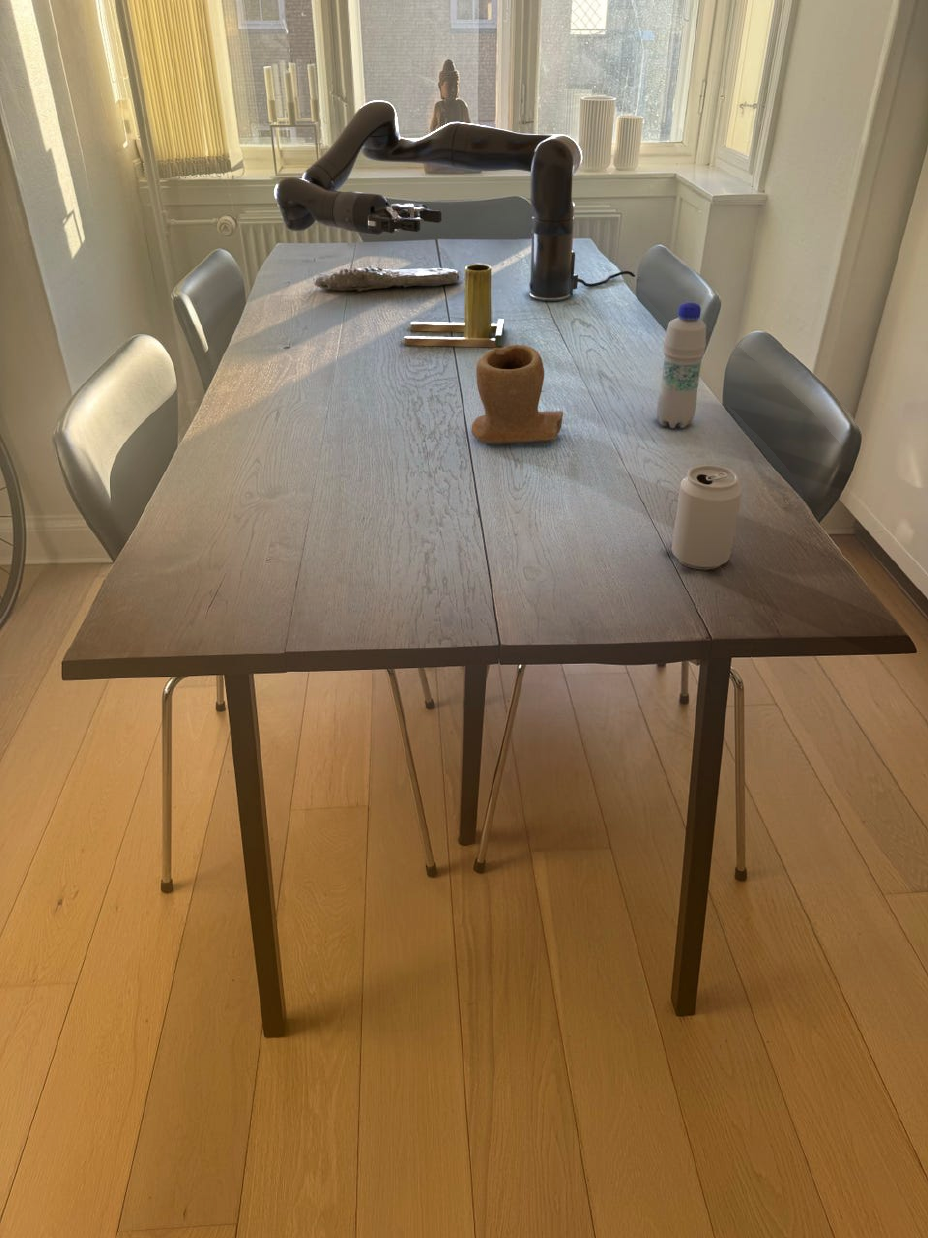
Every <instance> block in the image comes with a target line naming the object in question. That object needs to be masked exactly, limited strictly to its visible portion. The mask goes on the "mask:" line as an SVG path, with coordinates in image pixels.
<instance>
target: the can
mask: <svg viewBox="0 0 928 1238" xmlns="http://www.w3.org/2000/svg"><path fill="white" fill-rule="evenodd" d="M739 480H740V478H739V474H737V473H736V472H735V471H734V470H732V469H730V468H728V467H724V466H721V465H715V464H701V465H696V466H693V467H691V468H690V469H688V471H687V473H686V477H684V478H683V479H682V480H681V482H680V485H679V492H678V499H677V507H676V513H675V521H674V527H673V528H674V529H673V534H672V540H671V547H670V548H671V553H672V554H673V556H674V557H675V558H676V559H677V560H678V561H679V562H680V563H681V564H682V565H684V566H686V567H689V568H691V569H696V570H707V571H708V570H713V569H717V568H719V567H720V566H721V565H724V564H725V563H727V562H728V561H729V560H730V558H731V554H732V550H733V549H732V548H733V542H734V539H735V532H736V528H737V527H736V526H737V521H738V516H739V510H740V504H741V498H742V494H743V488H742V486H741V484H740V483H739Z"/></svg>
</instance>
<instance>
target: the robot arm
mask: <svg viewBox="0 0 928 1238" xmlns="http://www.w3.org/2000/svg"><path fill="white" fill-rule="evenodd" d="M360 153H362V155H363V156H364V157H366V158H367V159H369V160H372V161H376V162H377V161H378V162H389V163H410V164H411V163H412V164H423V165H431V166H432V165H433V166H439V167H445V168H451V169H458V170H463V171H471V172H498V171H524V172H528V173H530V195H529V196H530V204H531V208H532V217H531V219H532V220H531V246H530V247H531V249H530V275H529V284H528V288H529V293H528V295H529V297H530V298H531V299H533V300H537V301H542V302H560V301H565V300H567V299H569V298H570V297H571V296H573V295H574V290H578V283H581V284H582V285H583V286H584V287H589V288H592V287H593V288H594V287H598V286H602V285H604V284H607V283H608V282H610V280H611V279H614V278H617V277H620V276H622V275H629V276H631V277H633V278H634V277H636V274H635V273H634V272H632V271H630V270H623V271H619V272H616V273H614V274H610V275H609V276H607V278H606V279H605V280H602V281H599V282H594V283H593V282H592V283H587V282H586V281H585V280H583V279H582V278H579V275H578V274H576V273H575V265H576V252H575V251H573V245H574V244H573V243H574V227H575V226H574V225H575V211H576V210H575V209H576V208H575V203H574V202H573V178H574V177H573V176H574V175H575V174H576V173H577V172H578V171H579V169H580V167H581V165H582V160H583V155H582V149H581V148H580V146H579V144H578V143H577V141H576V140H574V139H573V138H571V136H568V135H565V134H533V133H532V134H531V133H520V132H514V131H511V130H506V129H502V128H497V127H493V126H487V125H480V124H476V123H467V122H460V121H452V122H449V123H447V124H445V125H443V126H440V127H439V128H437V129H436V130H434V131H432V132H431V133H429V134H427V135H425V136H423V137H419V138H405V137H401V136H400V129H399V122H398V116H397V112H396V109H395V107H394V106H393V104H391V103H390V102H389V101H385V100H372V101H369V102H367V103H365V104H364V105H362V106H361V107H359V109H358V110H357V111H356V112H355V113H354V114H353V116H352V117H351V119H350V120H349V122H348V123H347V124H346V125H345V127H344V128H343V130H342V131H341V133H340V134H339V135H338V137H337V138H336V140H335V141H334V142H333V143H332V145H331V146H330V147H329V148H328V149H327V151H325V152H324V153H323V154H322V156H320V158H319V157H318V159H317V160H316V161H314V162H313V163H312V164H311V165H310V166H309V167H308V168H307V169H306V170H305V171H304V172H303V174H302V177H298V176H288V177H287V176H286V177H284V178H281V179H280V180H279V181H277V182H276V184H275V186H274V188H273V194H274V198H275V202H276V205H277V207H278V211H279V213H280V217H281V219H282V223H283V224H284V226H285V228H286V229H288V230H289V231H291V232H294V233H301V232H304V231H307V230H308V229H310V228H311V227H312V226H313V225H314V224H315V223H318V225H320V226H322V227H326V228H334V229H341V230H345V231H347V232H348V231H349V232H353V233H360V234H369V235H374V236H375V235H379V236H380V235H381V234H384V233H389V234H393V233H395V231H396V232H402V231H404V232H405V231H406V232H412V233H418V232H420V231H421V222H429V223H435V224H436V223H437V224H439V223H441V222H442V211H441V210H438V209H430V208H428V205H427V204H418V203H409V202H400V204H399V203H393V204H391V205H390V204H389V203H388V200H387V199H386V198H385V197H384V195H382V194H377V193H369V192H362V191H361V192H360V191H340V190H339V189H340V188H341V187H342V186H343V185H344V184H345V183H346V182H347V180H348V178H349V176H351V173H352V171H353V168H354V166H355V164H356V161H357V159H358V157H359V154H360Z"/></svg>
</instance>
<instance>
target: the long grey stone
mask: <svg viewBox="0 0 928 1238" xmlns="http://www.w3.org/2000/svg"><path fill="white" fill-rule="evenodd" d="M460 279H461V273H460V270H458V269H450V268H444V267H432V268H431V267H430V268H406V269H405V268H403V269H390V268H381V267H380V266H377V265H369V266H366V267H357V268H353V267H351V268H342V269H340V270H336V271H330V272H326V273H325V272H323V273H321V272H320V273H317V274H315V275H314V276H313V284H314V286H316V287H317V288H320V289H322V290H336V291H343V292H344V291H349V292H350V291H356V292H362V291H370V290H373V289H377V290H381V289H388V288H391V287H393V286H395V287H404V288H408V287H414V286H421V287H439V286H443V285H453V284H457V283H459V282H460Z"/></svg>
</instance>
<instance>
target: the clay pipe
mask: <svg viewBox="0 0 928 1238" xmlns="http://www.w3.org/2000/svg"><path fill="white" fill-rule="evenodd" d="M475 373H476V387H477V391H478V394H479V397H480V401H481V403H482V405H483V408H484V414H483V415H480V416H478V417H476V418H475V419H474V421H473V422H472V424H471V428H470V429H471V435H472V436H473V437H474V438H475V439H477V441H478V442H481V443H485V444H500V445H501V444H526V443H541V442H542V443H543V442H544V443H545V442H552V441H556V440H557V438H558V436H559V433H560V431H561V428H562V424H563V417H564V411H561V410H558V411H539V405H540V399H541V394H542V391H543V385H544V382H545V367H544V361H543V359H542V356H541V355H540V353H539V352H538V351H537V350H536V349H534V348H533V347H530V346H529V345H523V344H509V345H507V346H504V347H501V348H496V347H495V348H492V349H490V350H487V351H486V352H484V354H482V355H481V356H480V357H479V359H478V361H477V363H476V372H475Z"/></svg>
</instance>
